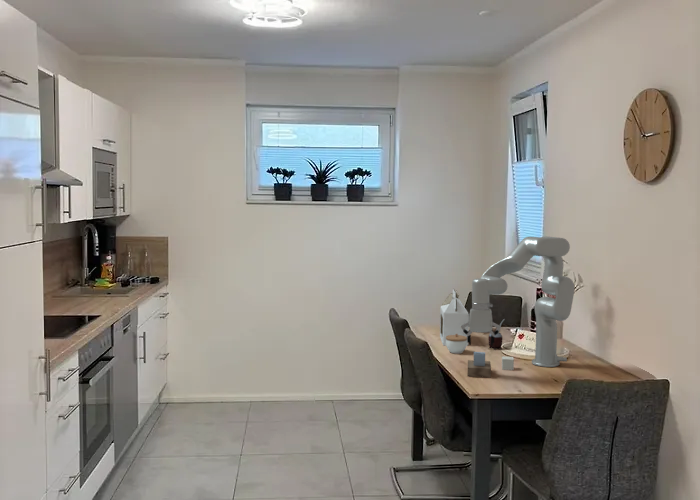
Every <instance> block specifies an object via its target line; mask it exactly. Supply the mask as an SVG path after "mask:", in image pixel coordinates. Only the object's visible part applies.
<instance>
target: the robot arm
mask: <svg viewBox="0 0 700 500" xmlns="http://www.w3.org/2000/svg"><path fill="white" fill-rule="evenodd" d="M570 248H571V245H570V242H569V241H568V240H567V239H566V238H564V237H556V236H541V237H540V236H526V237H524V238H523V239H521V240H520V242H519V243H518V244H517V245H516V246H515V247H514V249H512V251H511V252H510V253H509V254H508V255H507V256H506V257H505V258H503V259H501V260H499V261H498V262H496V263H494V264H492V265H491V266H490V267H488V268H487V269H486V271H484V273H483V274H481V276H480V277H479V278H478V277H477V278H474V279H472V281H471V308H470V310H469V322H467V323H465V324H463V325H461V328H462V330H463V332H464V333H465V334H466V335H467V343H468V346H470V345H471V342H472V341H471V339H472V337H471V336H472V335H471V334H472V333H489V334H491V345H493V343H494V336H495V335H496V334H497V333H498V332H499V333H500V331H501V328H502V327H501V326H502V325H501V326H500V324H498V323H495V322H494V321H493V314H492V313H493V312H492V309H491V308H493V306H494V304H493V303H491V302H490V295H495V296H496V295H498V296H499V295H502V294H504V293H506V292H507V290H508V287H509V286H508V283H507V281H506V280H505V279H504V278H502V277H504V276H506V275H509V274H513V273H516V272H519V271H521V270H522V269H524V267H525V266H526V265H527V264H528V263H529V262H530V261H531V259H533V257H542V258H543V261H544V266H543V272H542V273H543V274H542V279H541V287H540V288H541V291H542V292H543V293H544V294H547V295H550V296H555V298H553V297H550V296H549V297H548V296H542V297H540V298H538V299H537V300H536V301H535V304H534V314H535V315H534V316H535V349H534V350H535V351H534V353H535V354H534V355H535V356H534V358H532V360H531V364H533V365H535V366H539V367H545V368H554V367H558V366H560V364H561V363H560V362H567V361H568V359H567V358H568V357H565V356H559V355H558V354H557V345H558V341H557V340H558V325H557V324H558V322H564V321H566V320H567V319H568V318H569V317H570V315H571V312H572V308H573V301H574V295H575V284H574V282H573V280H572V279H571V278H570V277H568V276H565V275H564V274H563V273H564V260H563V257H564V256H566V255H567V254H568V253H569V252H570ZM563 275H564V276H563ZM468 325H469V331H467V330H466V329H465V327H466V326H468ZM493 327H494V328H496V329H495V330H494V331H493ZM499 330H500V331H499Z"/></svg>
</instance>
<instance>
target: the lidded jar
mask: <svg viewBox="0 0 700 500" xmlns="http://www.w3.org/2000/svg"><path fill="white" fill-rule="evenodd" d="M466 345H467V337H466V336H462V335H458V334H456V335H448V336H446V346H445V347H446V348H447V350H448V351H449V352H450V353H451V354H463V352H465V349H466V348H467V346H466Z"/></svg>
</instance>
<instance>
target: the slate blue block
mask: <svg viewBox="0 0 700 500" xmlns="http://www.w3.org/2000/svg"><path fill="white" fill-rule="evenodd" d="M473 361H474V366H485V361H486V352H484V351H473Z"/></svg>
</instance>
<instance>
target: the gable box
mask: <svg viewBox="0 0 700 500" xmlns="http://www.w3.org/2000/svg"><path fill="white" fill-rule="evenodd" d="M459 296H460V294H459V292H458V291H457V290H456V289H455V288H452V293H449V294H448V296H447V297H446V298H445V300H443V302H442V304H441V305H440V308H439V309H440V313H439V314H440V315H439V317H440V319H439V338H440V341H441V344H442V346H445V347H447V346H446V336H448V335H456V334H458V335H462V336H466V337H467V335H466V334H465V333H464V332H463V330H462V328H461V325H463V324H465V323H467V322H469V316H470V312H469V311H468V309H466V308H465V306H464V303H462V301H461V299H460V298H459ZM465 329H466V330H467V331H469V325H468V326H466V327H465ZM466 347H469V343H467V345H466Z"/></svg>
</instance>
